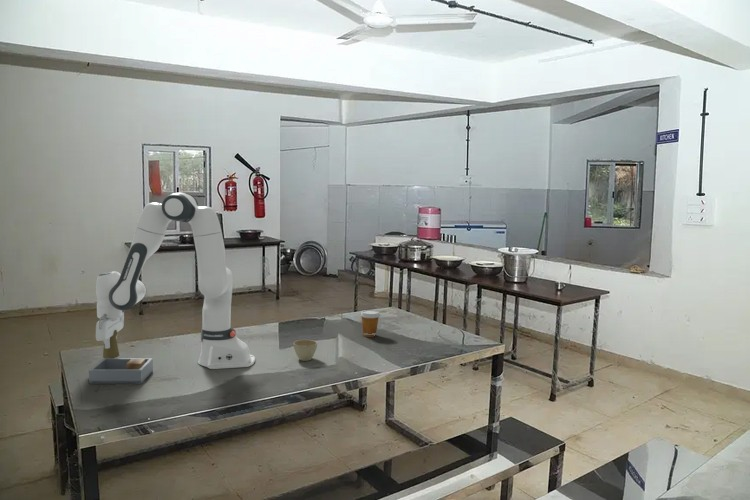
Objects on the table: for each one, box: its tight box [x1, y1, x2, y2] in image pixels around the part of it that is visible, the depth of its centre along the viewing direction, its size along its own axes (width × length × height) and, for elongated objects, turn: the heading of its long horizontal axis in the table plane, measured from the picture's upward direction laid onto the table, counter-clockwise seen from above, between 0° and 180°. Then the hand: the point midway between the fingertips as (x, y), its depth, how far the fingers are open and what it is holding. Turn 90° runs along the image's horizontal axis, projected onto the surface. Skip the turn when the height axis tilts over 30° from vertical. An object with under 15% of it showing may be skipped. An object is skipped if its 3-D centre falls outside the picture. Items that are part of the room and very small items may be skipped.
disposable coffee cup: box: [360, 309, 381, 338], centre depth 273 cm, size 10×10×12 cm
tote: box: [88, 357, 154, 385], centre depth 204 cm, size 18×14×5 cm
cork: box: [102, 330, 120, 359], centre depth 220 cm, size 6×6×11 cm
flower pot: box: [293, 339, 318, 362], centre depth 233 cm, size 10×10×7 cm
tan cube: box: [126, 359, 145, 369], centre depth 205 cm, size 5×5×5 cm
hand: (110, 345), depth 220 cm, fingers closed on cork, 5 cm apart
